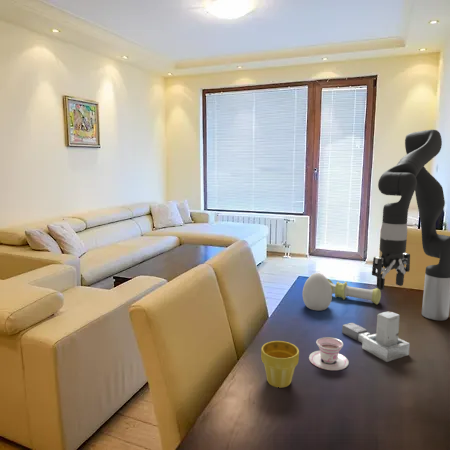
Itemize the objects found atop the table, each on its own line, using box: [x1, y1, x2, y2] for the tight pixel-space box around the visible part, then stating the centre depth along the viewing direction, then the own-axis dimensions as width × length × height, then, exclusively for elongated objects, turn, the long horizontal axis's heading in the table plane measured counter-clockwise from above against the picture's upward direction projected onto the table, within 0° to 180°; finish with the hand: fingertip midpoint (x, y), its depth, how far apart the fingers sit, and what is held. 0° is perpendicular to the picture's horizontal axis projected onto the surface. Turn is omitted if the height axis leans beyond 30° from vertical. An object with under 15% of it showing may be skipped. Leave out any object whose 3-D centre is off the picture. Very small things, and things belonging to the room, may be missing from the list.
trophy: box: [327, 278, 382, 306], centre depth 175 cm, size 8×8×30 cm
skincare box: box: [375, 310, 400, 347], centre depth 125 cm, size 6×4×12 cm
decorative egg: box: [302, 272, 333, 311], centre depth 164 cm, size 12×12×15 cm
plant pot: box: [260, 340, 300, 389], centre depth 108 cm, size 10×10×10 cm
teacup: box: [308, 336, 350, 371], centre depth 120 cm, size 12×12×6 cm
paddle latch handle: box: [341, 322, 411, 363], centre depth 131 cm, size 10×22×4 cm, turn 27°
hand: (389, 287), depth 123 cm, fingers open, 8 cm apart
